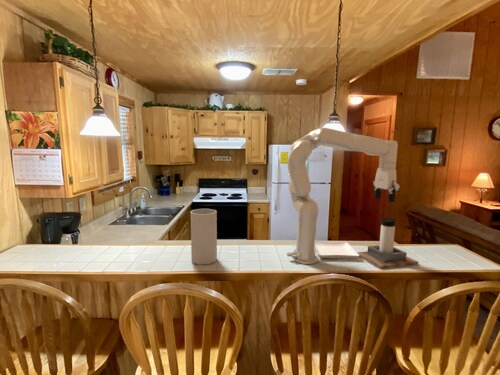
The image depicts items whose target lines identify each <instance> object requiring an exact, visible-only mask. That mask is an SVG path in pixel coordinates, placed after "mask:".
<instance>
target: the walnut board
mask: <svg viewBox="0 0 500 375" xmlns="http://www.w3.org/2000/svg"><path fill="white" fill-rule="evenodd" d="M356 252H357V253H358V254H359V255H360V256H359V257H358V258H360V259H362V260H363V261H366V262H367V263H369V264H370V265H372V266H374V267H376V268H378V270H386V269H387V270H388V269H393V268H401V267H410V266H419V261H418V260H416V259H413V258H411V257H409V256H407V255H406V261H398V262H389V263H384V262H382V261H380V260H378V259H376V258H375V257H373V256H371V255H369V254H367V253H368V250H367V251H359V252H358V251H356Z"/></svg>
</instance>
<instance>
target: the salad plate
mask: <svg viewBox="0 0 500 375" xmlns="http://www.w3.org/2000/svg"><path fill="white" fill-rule="evenodd" d="M357 252H358V251H356V249H354V248H353V247H352V246H351V245H350V244H349V243H348V242H347V241H337V240H335V241H331V240H330V241H329V240H328V241H327V240H316V250H315V253H316V254H317V257H318V258H322V259H343V260H344V259H345V260H346V259H351V260H352V259H357V258H360V257H359V256H360V255H359V254H358V253H357Z"/></svg>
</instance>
